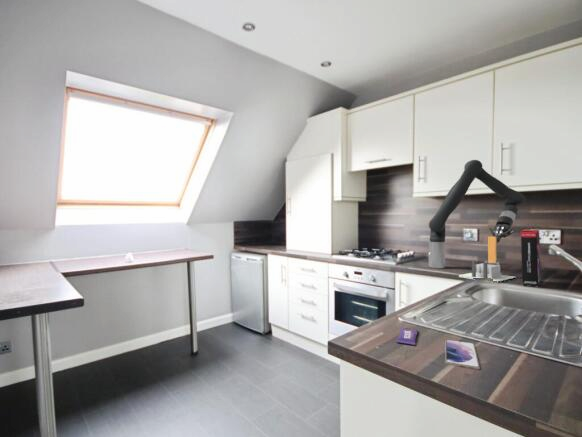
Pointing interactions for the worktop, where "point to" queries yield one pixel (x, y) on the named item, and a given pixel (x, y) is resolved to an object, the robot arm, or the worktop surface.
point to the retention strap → (492, 250)
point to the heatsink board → (486, 272)
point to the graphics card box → (530, 257)
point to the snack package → (407, 336)
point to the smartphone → (461, 354)
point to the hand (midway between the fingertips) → (495, 241)
